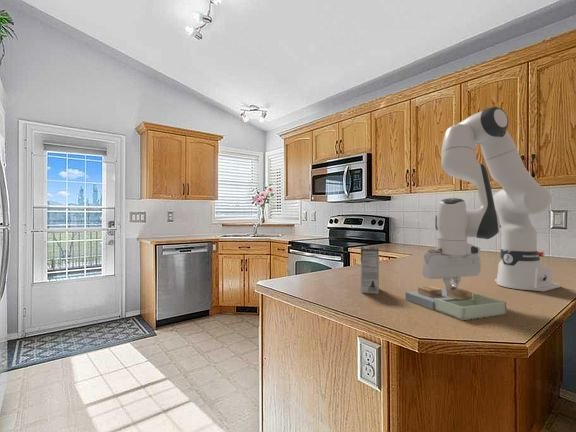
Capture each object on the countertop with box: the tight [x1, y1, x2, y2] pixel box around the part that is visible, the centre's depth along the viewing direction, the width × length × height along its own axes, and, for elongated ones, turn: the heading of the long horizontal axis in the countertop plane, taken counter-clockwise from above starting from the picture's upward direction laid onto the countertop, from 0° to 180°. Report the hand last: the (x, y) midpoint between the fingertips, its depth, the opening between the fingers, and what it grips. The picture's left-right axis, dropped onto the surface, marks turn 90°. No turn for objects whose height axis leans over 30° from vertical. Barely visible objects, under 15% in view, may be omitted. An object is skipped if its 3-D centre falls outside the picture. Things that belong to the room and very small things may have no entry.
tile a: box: [447, 287, 473, 300], centre depth 101 cm, size 5×5×2 cm
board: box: [405, 287, 473, 311], centre depth 105 cm, size 16×12×2 cm
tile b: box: [417, 285, 442, 297], centre depth 105 cm, size 5×5×2 cm
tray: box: [433, 293, 507, 322], centre depth 94 cm, size 16×10×4 cm, turn 110°
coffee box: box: [360, 246, 380, 295], centre depth 120 cm, size 9×6×16 cm
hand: (451, 290), depth 104 cm, fingers closed
